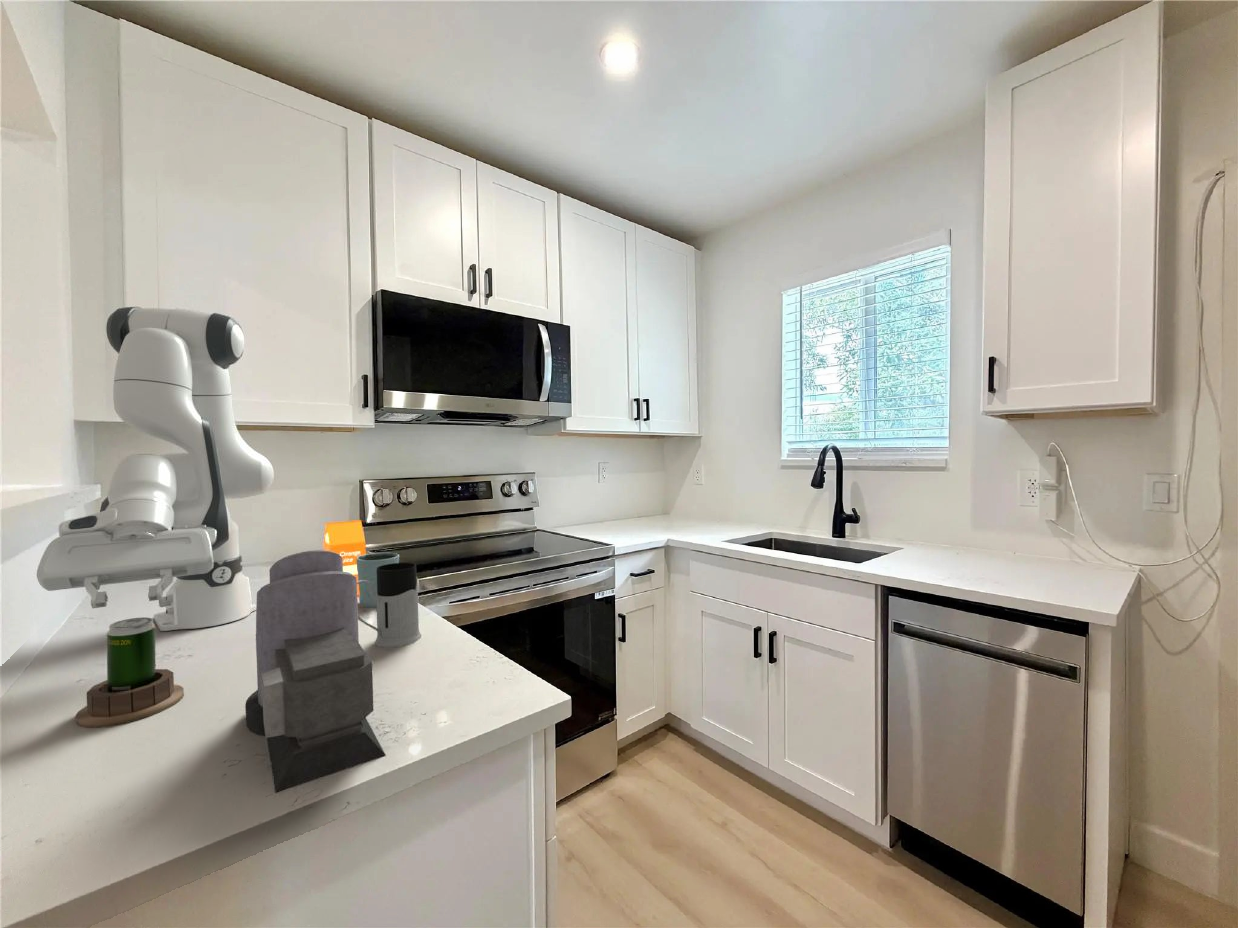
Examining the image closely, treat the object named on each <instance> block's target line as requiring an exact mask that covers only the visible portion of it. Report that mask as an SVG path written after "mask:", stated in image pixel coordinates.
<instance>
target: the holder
mask: <svg viewBox="0 0 1238 928" xmlns="http://www.w3.org/2000/svg"><path fill="white" fill-rule="evenodd" d="M361 582H365V583H367V584H368V586H369V589H370V596H371V598H372V599H376V602H377V607H376V626H377V627H376V626H374V625H372V624H370V623H368V622H367V621H365V620H364V619H363V618H362V617H360V615H359V614H358V622H360V623H363V624H364V625H366V626H368V627H370V628H371V629H373V630H375V631H377V633H376V634H377V635H376V639H375V641H374V644H375V645H376V644H377V645H376V646H378V645H379V646H378V647H382V648H383V647H384V648H393V647H394V648H395V647H401V646H400V645H402V646H406V644H407V645H410V644H413V643H415V642H417V641H419V640H420V639H421V638H422V634H421V632H420V627H419V623H420V622H419V592H418V591H419V590H418V589H419V588H418V587H419V586H418V576H417V564H416V563H414V562H399V563H392V564H386V565H382V566H379V567H377V593H376V597H374V596H373V588H372V585H371V584H370V583H369V582H368V581H366V580H360V581H357V584H359V583H361ZM418 639H419V640H418ZM412 642H413V643H412Z"/></svg>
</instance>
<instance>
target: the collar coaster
mask: <svg viewBox="0 0 1238 928" xmlns="http://www.w3.org/2000/svg"><path fill="white" fill-rule="evenodd" d="M174 679H175V678H174V672H173V671H171V670H170V669H168V668H167V669H166V668H165V669H163V668H159V669H157V668H155V682H153V683H151V684H149V685H146V686H143V687H139V688H136V689H133V690H128V691H122V692H116V693H107V679H106V680H104V681H102V682H99V683H97V684H95V685H92V687H90V688H89V689H88V690H87V691H86V706H83V707H82V708H81V709H80V710H79V711H77V712H76V714H75V721H76V725H77V726H79V727H83V728H104V727H103V726H106V727H112V726H117V725H123V724H127V723H131V722H135V721H138V720H141V719H145V718H147V717H151V716H153V715H156V714H158V713H161V712H163V711H165V710H167V709H169V708H171V707H173V706H175V705H176V704H177V703H179V702H180V701H181V700H183V698H184V695H185V694H184V687H183V686H182V685H179V684H175V682H174V681H175V680H174Z"/></svg>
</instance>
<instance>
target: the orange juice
mask: <svg viewBox="0 0 1238 928" xmlns="http://www.w3.org/2000/svg"><path fill="white" fill-rule="evenodd" d="M324 530H325V531H324V538H323V550H325V551H332V552H335V553H338V554H339V555H340V556H341V557H342V558H343V572H349V573H351V574H353V575H354V576H355V577H356V578H357V581H358V571H357V563H356V558H357V557H358V556H361V555H365V554H367V553H366V548H367V547H366V539H365V533H364V529H363V524H362V519H357V520H348V521H347V520H346V521H345V520H344V521H335V522H326V523H325V529H324ZM358 595H359V585H358V584H357V597H359V596H358Z"/></svg>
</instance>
